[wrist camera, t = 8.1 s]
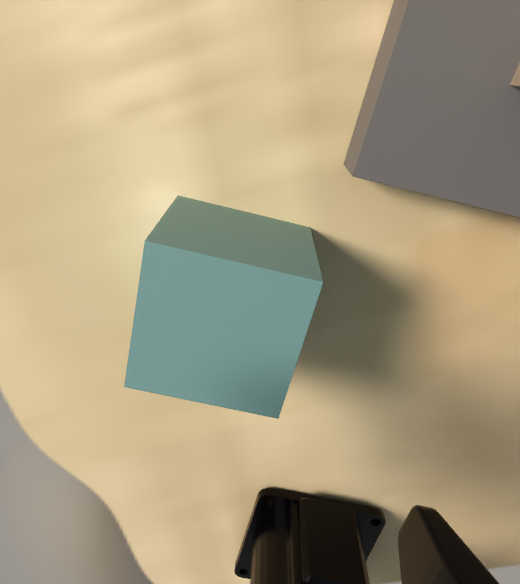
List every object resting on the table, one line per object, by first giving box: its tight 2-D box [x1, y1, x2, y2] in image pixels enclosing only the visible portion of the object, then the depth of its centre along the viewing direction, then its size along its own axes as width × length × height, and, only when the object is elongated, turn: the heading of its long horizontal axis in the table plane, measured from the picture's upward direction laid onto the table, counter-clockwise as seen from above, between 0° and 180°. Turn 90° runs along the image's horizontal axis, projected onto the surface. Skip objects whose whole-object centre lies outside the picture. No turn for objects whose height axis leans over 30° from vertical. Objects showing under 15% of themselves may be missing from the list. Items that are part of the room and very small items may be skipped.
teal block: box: [124, 196, 323, 418], centre depth 16 cm, size 5×5×5 cm
